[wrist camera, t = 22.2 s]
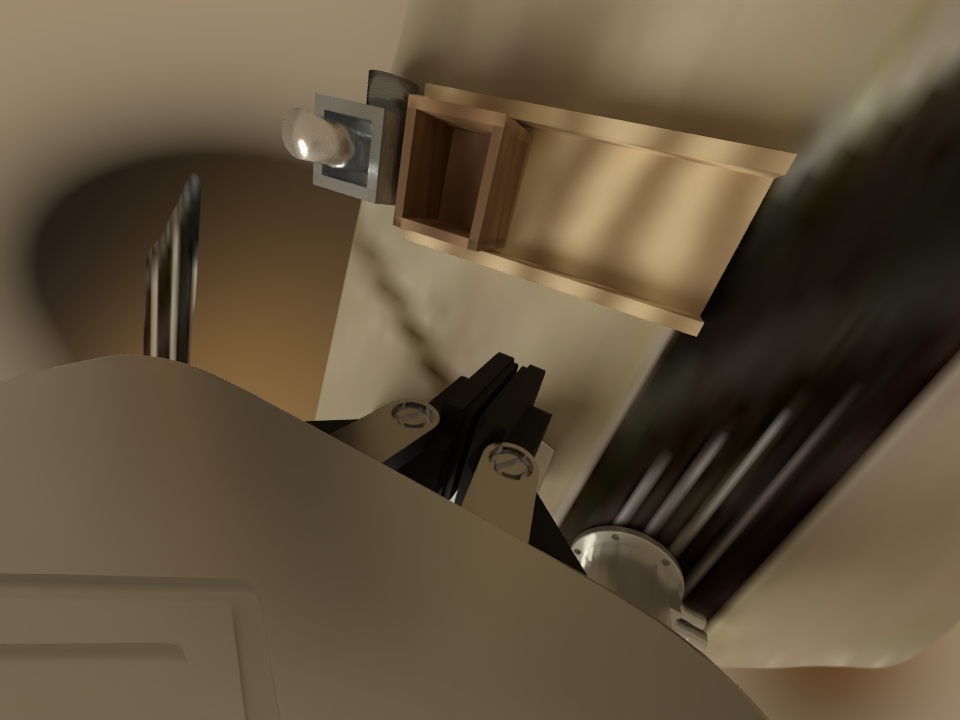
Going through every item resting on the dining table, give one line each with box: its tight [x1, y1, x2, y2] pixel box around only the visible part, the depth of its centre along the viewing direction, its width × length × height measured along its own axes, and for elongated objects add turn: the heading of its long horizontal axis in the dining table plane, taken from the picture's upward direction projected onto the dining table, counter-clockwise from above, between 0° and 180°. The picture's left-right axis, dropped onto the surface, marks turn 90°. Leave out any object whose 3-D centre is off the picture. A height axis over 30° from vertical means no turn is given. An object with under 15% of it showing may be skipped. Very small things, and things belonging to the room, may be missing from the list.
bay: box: [396, 83, 797, 337], centre depth 30 cm, size 28×13×5 cm, turn 75°
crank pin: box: [282, 108, 371, 175], centre depth 29 cm, size 3×3×8 cm
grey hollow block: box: [313, 70, 419, 205], centre depth 33 cm, size 7×10×8 cm
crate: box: [393, 94, 534, 252], centre depth 30 cm, size 8×9×7 cm
